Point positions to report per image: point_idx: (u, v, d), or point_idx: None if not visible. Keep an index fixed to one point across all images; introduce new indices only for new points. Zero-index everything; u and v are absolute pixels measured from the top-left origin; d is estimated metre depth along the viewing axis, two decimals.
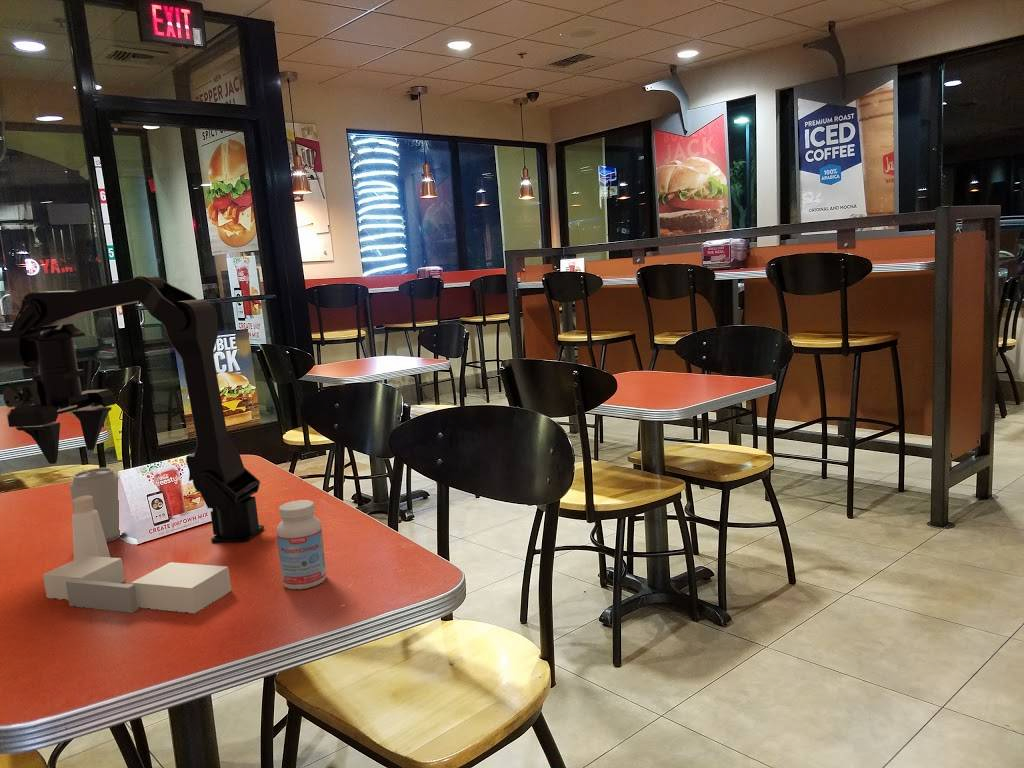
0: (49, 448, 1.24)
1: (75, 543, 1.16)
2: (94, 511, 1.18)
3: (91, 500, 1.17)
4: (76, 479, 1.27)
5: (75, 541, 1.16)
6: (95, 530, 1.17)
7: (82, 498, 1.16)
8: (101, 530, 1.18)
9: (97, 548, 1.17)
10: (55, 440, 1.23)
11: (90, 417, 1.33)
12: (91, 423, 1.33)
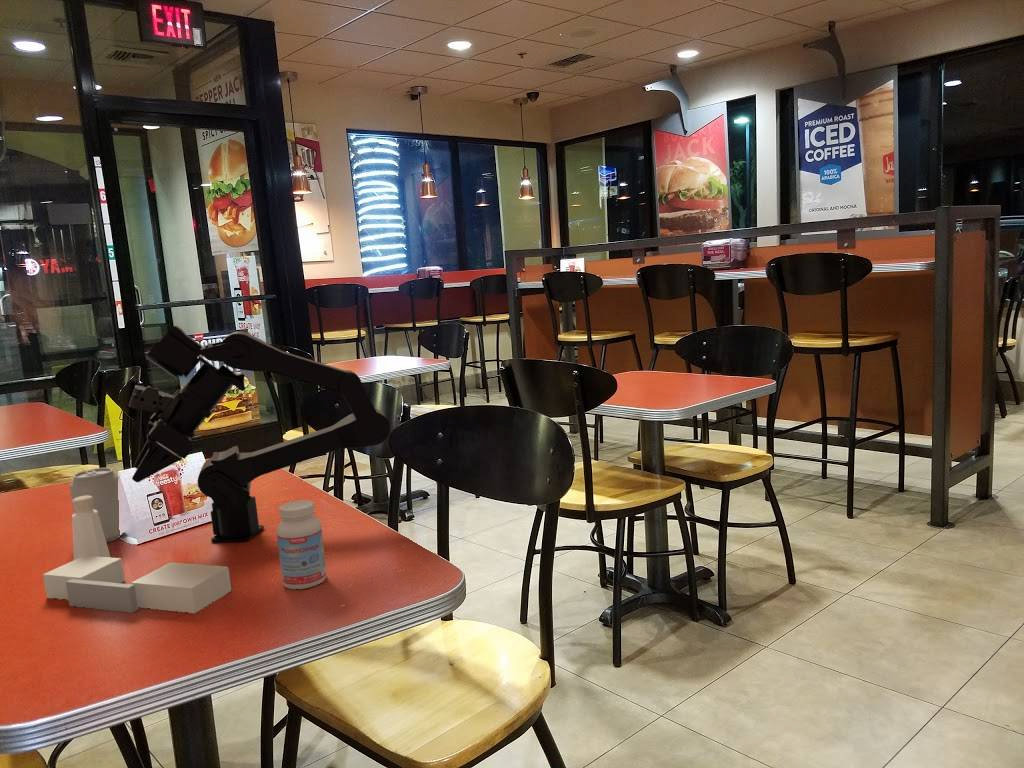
0: (150, 469, 1.16)
1: (75, 543, 1.16)
2: (94, 511, 1.18)
3: (91, 500, 1.17)
4: (76, 479, 1.27)
5: (75, 541, 1.16)
6: (95, 530, 1.17)
7: (82, 498, 1.16)
8: (101, 530, 1.18)
9: (97, 548, 1.17)
10: (164, 467, 1.17)
11: None
12: None
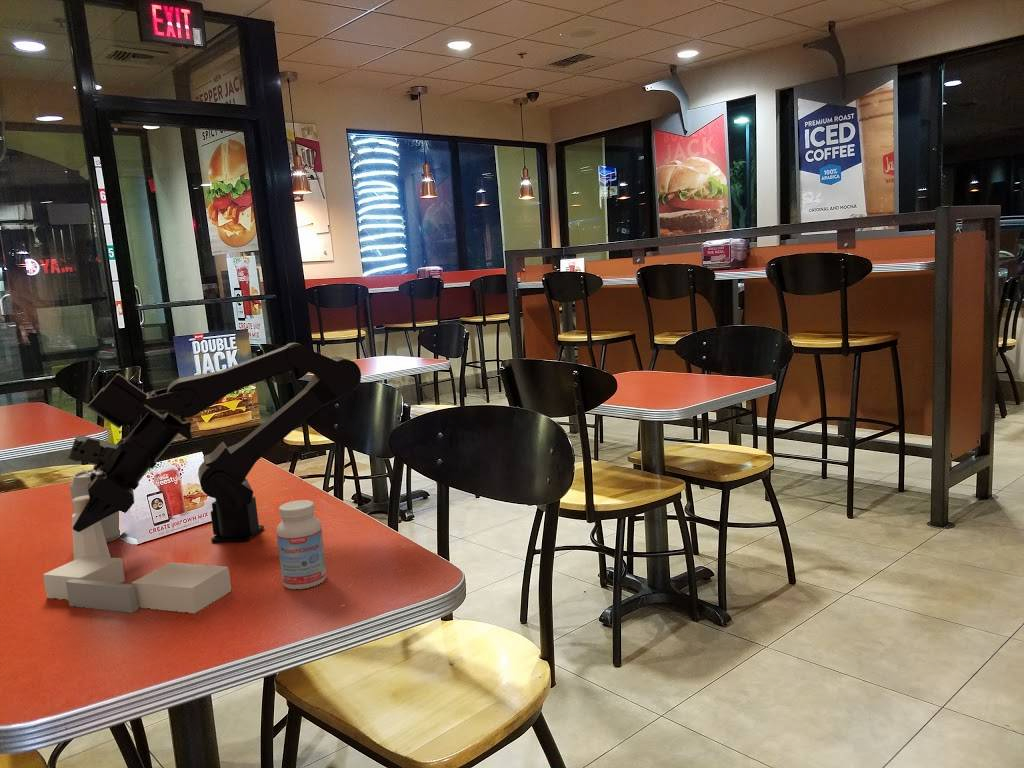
0: (91, 519, 1.15)
1: (75, 543, 1.16)
2: None
3: None
4: (76, 479, 1.27)
5: (75, 541, 1.16)
6: (95, 530, 1.17)
7: (82, 498, 1.16)
8: (101, 530, 1.18)
9: (97, 548, 1.17)
10: None
11: None
12: None
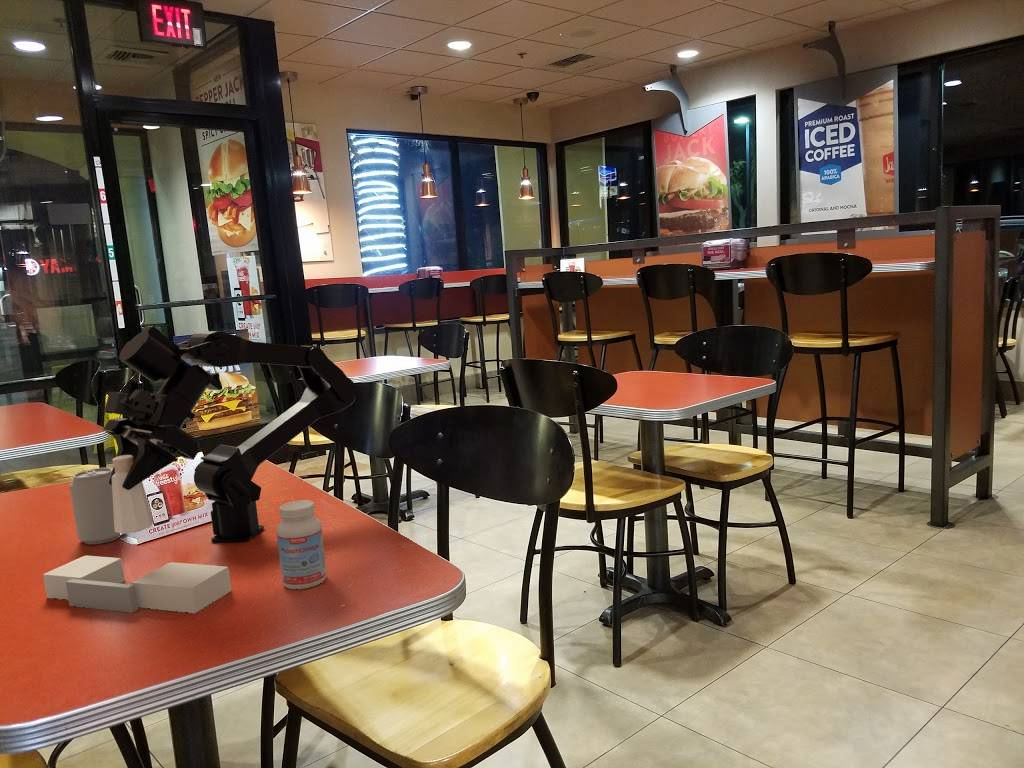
0: (143, 474, 1.12)
1: (121, 504, 1.11)
2: None
3: (132, 458, 1.13)
4: (76, 479, 1.27)
5: (121, 502, 1.11)
6: (141, 488, 1.13)
7: (124, 457, 1.12)
8: (143, 489, 1.14)
9: (145, 507, 1.13)
10: None
11: (136, 453, 1.16)
12: (133, 460, 1.16)
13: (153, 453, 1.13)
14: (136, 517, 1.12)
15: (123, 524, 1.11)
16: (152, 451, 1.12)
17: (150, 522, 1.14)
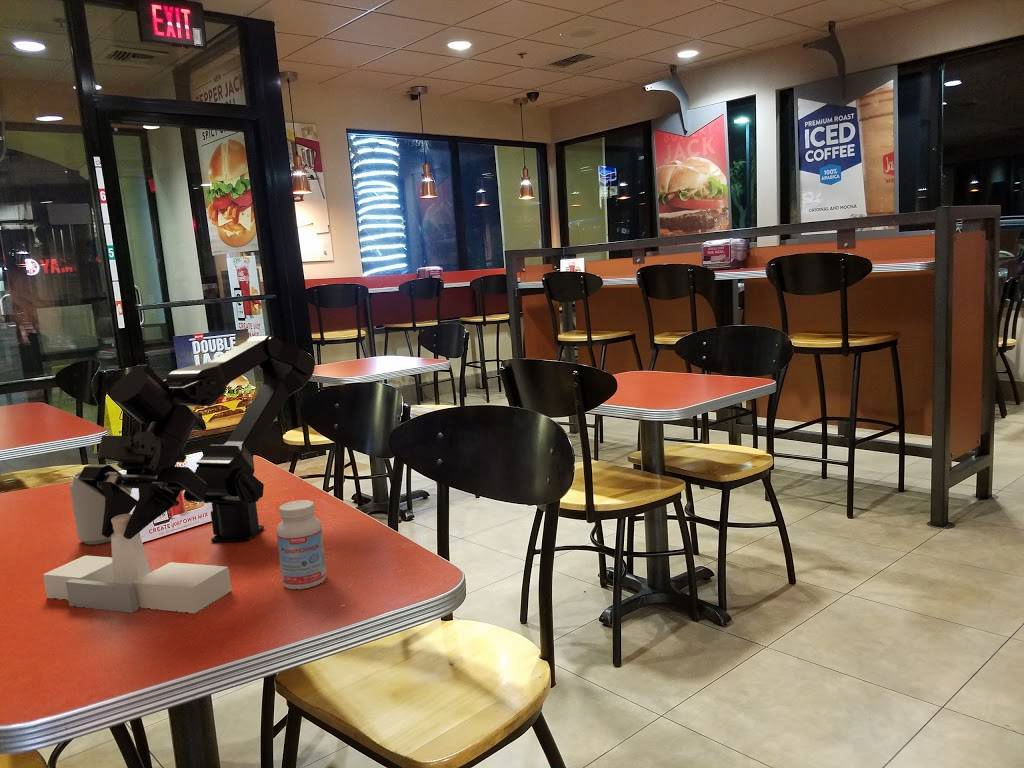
0: (144, 521, 1.05)
1: (124, 567, 1.04)
2: None
3: None
4: (76, 479, 1.27)
5: (124, 565, 1.04)
6: (143, 548, 1.07)
7: (125, 516, 1.05)
8: (143, 549, 1.08)
9: (147, 568, 1.07)
10: None
11: (125, 501, 1.09)
12: (122, 508, 1.08)
13: (153, 498, 1.07)
14: None
15: None
16: (152, 496, 1.07)
17: None
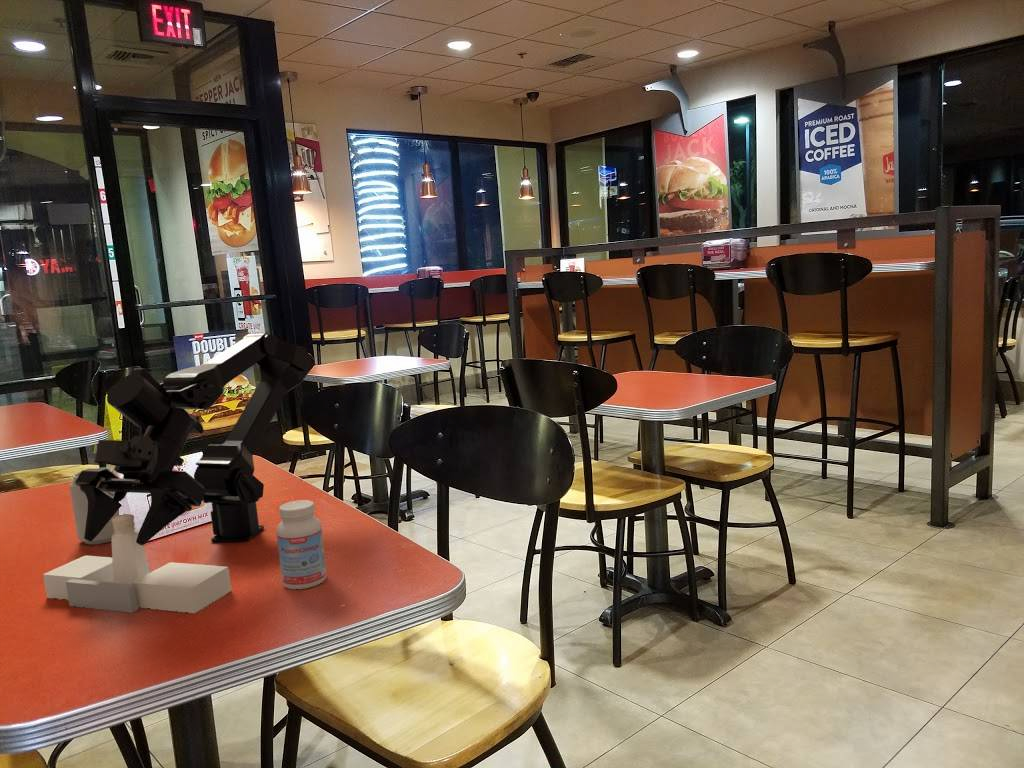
0: (157, 527, 1.04)
1: (124, 567, 1.04)
2: (135, 530, 1.07)
3: (133, 518, 1.06)
4: (76, 479, 1.27)
5: (124, 565, 1.04)
6: (143, 549, 1.07)
7: (125, 516, 1.05)
8: None
9: (147, 568, 1.07)
10: None
11: (107, 504, 1.09)
12: (105, 511, 1.09)
13: (165, 503, 1.05)
14: None
15: None
16: (165, 501, 1.05)
17: None
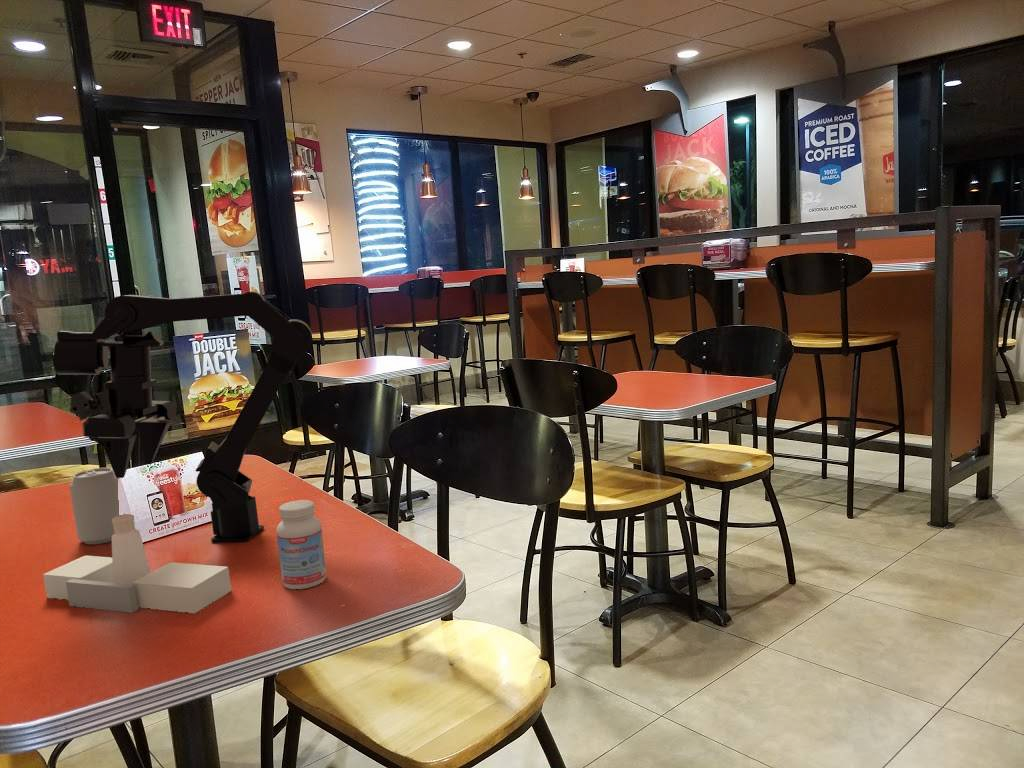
0: (120, 461, 1.16)
1: (124, 567, 1.04)
2: (135, 530, 1.07)
3: (133, 518, 1.06)
4: (76, 479, 1.27)
5: (124, 565, 1.04)
6: (143, 549, 1.07)
7: (125, 516, 1.05)
8: None
9: (147, 568, 1.07)
10: (128, 453, 1.16)
11: (151, 429, 1.26)
12: (152, 436, 1.26)
13: (115, 440, 1.16)
14: None
15: None
16: None
17: None
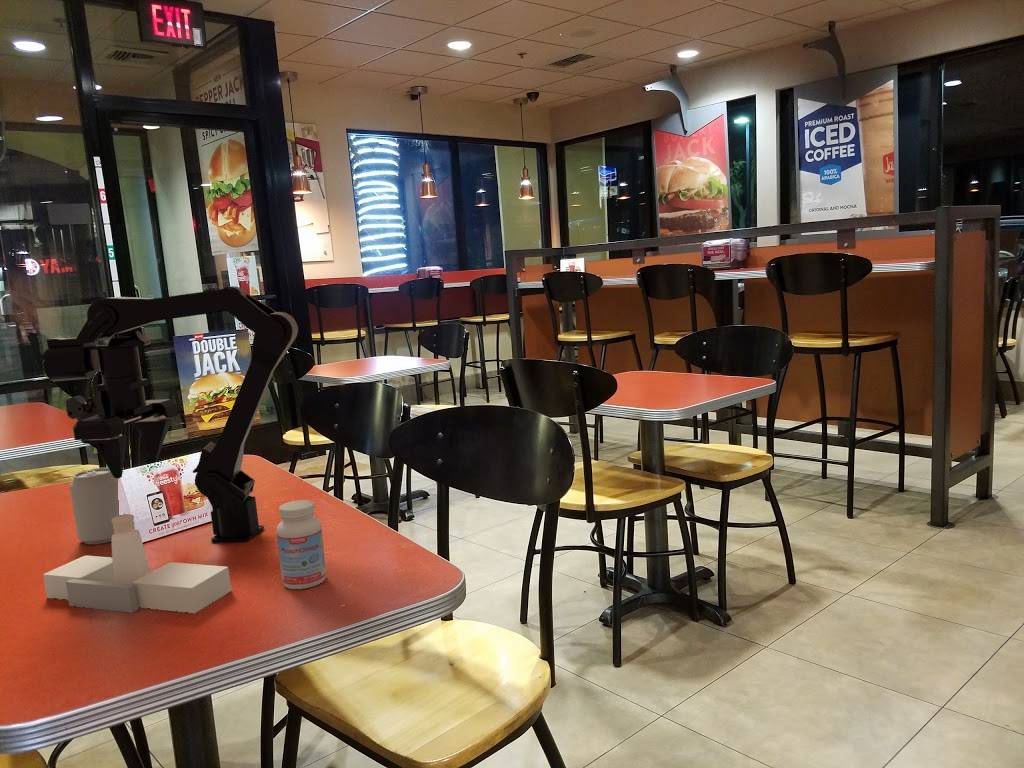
0: (115, 462, 1.18)
1: (124, 567, 1.04)
2: (135, 530, 1.07)
3: None
4: (76, 479, 1.27)
5: (124, 565, 1.04)
6: (143, 549, 1.07)
7: (125, 516, 1.05)
8: None
9: (147, 568, 1.07)
10: (121, 453, 1.17)
11: (152, 428, 1.28)
12: (153, 435, 1.28)
13: None
14: None
15: None
16: None
17: None
